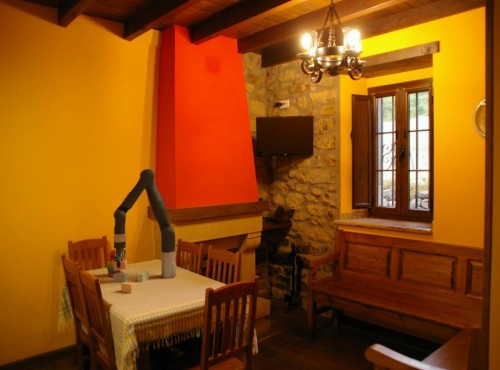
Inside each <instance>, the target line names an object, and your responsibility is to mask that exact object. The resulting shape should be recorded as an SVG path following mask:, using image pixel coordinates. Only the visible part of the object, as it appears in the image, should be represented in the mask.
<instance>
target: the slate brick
mask: <svg viewBox="0 0 500 370" xmlns="http://www.w3.org/2000/svg"><path fill="white" fill-rule="evenodd" d="M112 278H113V280H112V281H113V283H123V282H128V273H127V272H126V273H125V272H124V273H115V274H113V277H112Z"/></svg>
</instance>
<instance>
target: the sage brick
mask: <svg viewBox="0 0 500 370" xmlns="http://www.w3.org/2000/svg"><path fill="white" fill-rule="evenodd" d="M149 279H150V272H149V271H145V270H144V271H141V272H139V273H138V274H137V282H140V283H143V282H145V281H147V280H149Z"/></svg>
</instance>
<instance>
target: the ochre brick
mask: <svg viewBox="0 0 500 370" xmlns="http://www.w3.org/2000/svg"><path fill="white" fill-rule="evenodd" d="M120 283H121V284H120V290H121V291H120V292H124V293H129V294H133V293H135V292H136V291H137V290H136V286H137V285H136V283H135V282H128V281H126V282H120Z"/></svg>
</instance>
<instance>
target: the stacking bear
mask: <svg viewBox="0 0 500 370" xmlns="http://www.w3.org/2000/svg"><path fill="white" fill-rule="evenodd" d="M114 253H116V249H115V248H113V249H112V250H110V251H109V253H108V257H109V258H108V260H107V264H106V270H107V277H108V278H113V274H115V273H125V272H124V271H122V269H121V270H117V271H114V267H113V263H114V262H115V259H114Z"/></svg>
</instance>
